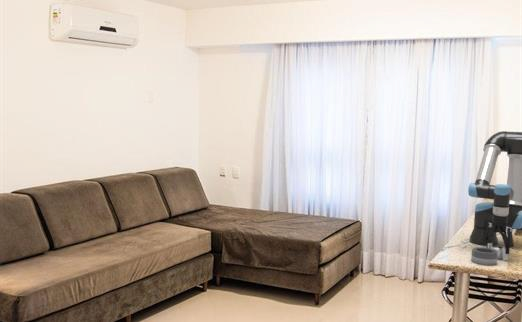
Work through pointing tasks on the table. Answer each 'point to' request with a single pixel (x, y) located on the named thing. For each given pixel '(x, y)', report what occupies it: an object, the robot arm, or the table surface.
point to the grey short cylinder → (484, 256)
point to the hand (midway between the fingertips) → (497, 257)
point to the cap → (498, 251)
